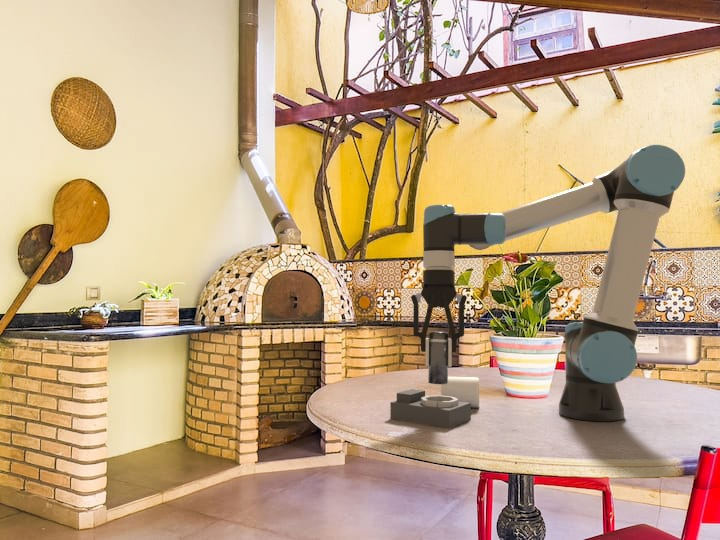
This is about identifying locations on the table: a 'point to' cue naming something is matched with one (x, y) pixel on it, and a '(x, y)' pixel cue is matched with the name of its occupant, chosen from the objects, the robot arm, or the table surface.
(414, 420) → the camera body
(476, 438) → the table surface
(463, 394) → the cream upright block
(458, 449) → the table surface
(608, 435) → the table surface
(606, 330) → the robot arm
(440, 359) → the dark metallic upright block
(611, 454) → the table surface
